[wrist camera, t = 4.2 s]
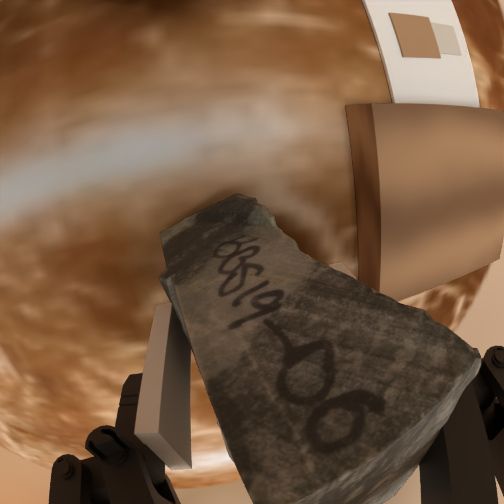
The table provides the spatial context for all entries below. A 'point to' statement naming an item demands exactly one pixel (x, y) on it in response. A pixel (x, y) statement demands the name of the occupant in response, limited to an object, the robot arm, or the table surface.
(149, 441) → the robot arm
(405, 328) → the stone block
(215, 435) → the table surface
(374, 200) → the base brick
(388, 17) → the page
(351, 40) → the table surface
